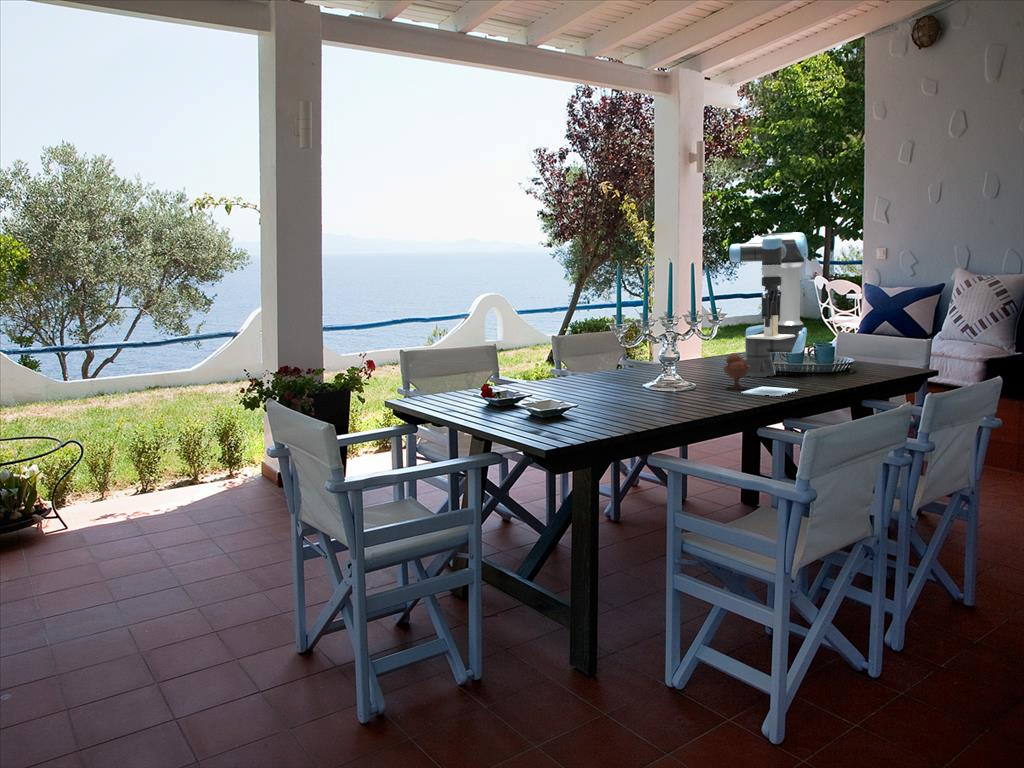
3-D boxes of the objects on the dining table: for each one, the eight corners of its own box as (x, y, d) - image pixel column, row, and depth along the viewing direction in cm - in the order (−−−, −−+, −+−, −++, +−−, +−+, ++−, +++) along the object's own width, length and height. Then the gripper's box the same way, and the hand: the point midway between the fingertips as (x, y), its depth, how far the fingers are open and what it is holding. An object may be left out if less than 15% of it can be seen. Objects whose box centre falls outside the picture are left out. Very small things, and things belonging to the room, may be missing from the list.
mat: (761, 387, 355) (761, 386, 355) (798, 390, 345) (798, 389, 345) (741, 393, 342) (741, 392, 342) (779, 396, 332) (779, 395, 331)
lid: (762, 335, 350) (762, 314, 349) (795, 336, 341) (795, 314, 340) (746, 338, 340) (746, 316, 339) (779, 339, 331) (779, 317, 329)
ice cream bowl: (744, 391, 348) (744, 354, 346) (718, 389, 355) (718, 353, 353) (754, 387, 357) (754, 352, 354) (728, 386, 363) (729, 351, 361)
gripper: (772, 275, 346) (771, 332, 349) (752, 276, 333) (752, 336, 336) (789, 275, 341) (789, 333, 344) (770, 276, 328) (770, 336, 331)
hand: (770, 334), depth 340 cm, fingers closed on lid, 4 cm apart
